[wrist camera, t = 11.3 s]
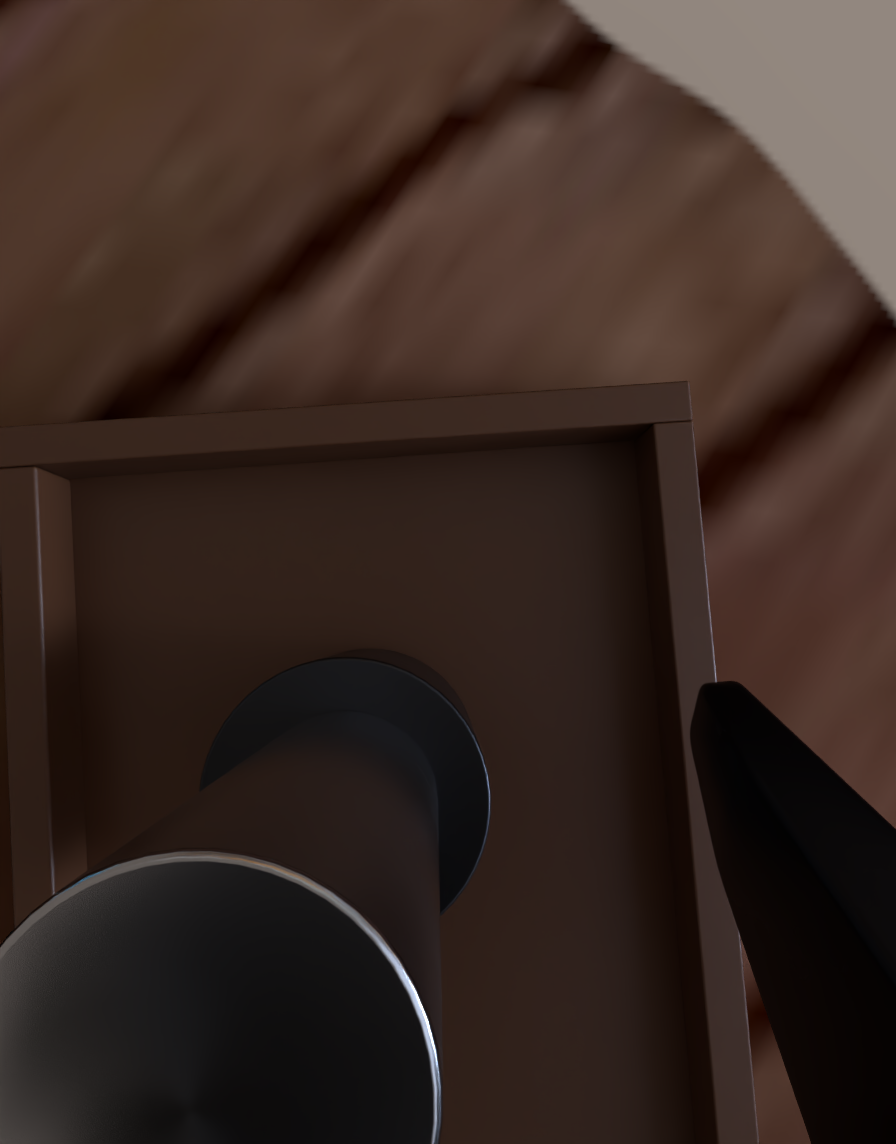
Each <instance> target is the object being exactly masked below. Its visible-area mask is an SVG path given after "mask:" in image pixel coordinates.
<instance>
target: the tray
mask: <svg viewBox="0 0 896 1144" xmlns="http://www.w3.org/2000/svg"><path fill="white" fill-rule="evenodd" d="M691 420H692V407H691V396H690V385H689V382H688V381H680V382H665V383H650V384H635V385H620V386H605V387H591V388H576V389H561V390H546V391H531V392H516V393H501V394H486V395H471V396H456V397H441V398H426V399H412V400H397V401H382V402H367V403H352V404H337V405H322V406H307V407H292V408H277V409H262V410H247V411H233V412H218V413H203V414H188V415H173V416H158V417H143V418H128V419H113V420H98V421H83V422H68V423H54V424H39V425H24V426H9V427H0V574H1V599H2V625H3V651H4V677H5V702H6V728H7V754H8V780H9V805H10V831H11V857H12V883H13V908H14V929H15V928H16V927H17V926H18V925H19V924H20V923H21V922H22V921H23V920H24V919H25V918H26V917H27V916H28V915H29V914H30V913H31V912H32V911H33V910H34V909H36V908H37V907H38V906H40V905H41V904H42V903H43V902H45V901H46V900H47V899H49V898H50V897H51V896H52V895H54V894H55V893H56V892H58V891H59V890H60V889H62V888H63V887H65V886H66V885H67V884H69V883H70V882H72V881H73V880H75V879H76V878H77V877H79V876H80V875H82V874H83V873H85V872H86V871H87V870H89V869H90V868H92V867H93V866H95V865H96V864H97V863H99V862H100V861H102V860H103V859H105V858H106V857H107V856H109V855H110V854H112V853H113V852H115V851H116V850H117V849H119V848H120V847H122V846H123V845H124V844H126V843H127V842H129V841H130V840H132V839H133V838H134V837H136V836H137V835H139V834H140V833H142V832H143V831H144V830H146V829H147V828H149V827H150V826H152V825H153V824H154V823H156V822H157V821H159V820H160V819H162V818H163V817H164V816H166V815H167V814H169V813H170V812H171V811H173V810H174V809H176V808H177V807H179V806H180V805H181V804H183V803H184V802H186V801H187V800H189V799H190V798H191V797H193V796H194V795H196V794H197V793H199V788H200V781H201V775H202V771H203V768H204V764H205V761H206V757H207V755H208V752H209V750H210V748H211V745H212V743H213V740H214V738H215V737H216V735H217V733H218V732H219V730H220V728H221V726H222V725H223V723H224V722H225V720H226V719H227V718H228V716H229V715H230V714H231V712H232V711H233V710H234V709H235V707H236V706H237V705H238V704H239V703H240V702H241V701H242V700H243V699H244V698H245V697H246V696H247V695H248V694H249V693H250V692H252V691H253V690H254V689H256V688H257V687H258V686H260V685H261V684H262V683H263V682H265V681H266V680H268V679H270V678H272V677H273V676H275V675H277V674H278V673H280V672H282V671H285V670H287V669H289V668H292V667H294V666H297V665H299V664H303V663H306V662H310V661H313V660H317V659H321V658H324V657H328V656H331V655H335V654H339V653H342V652H346V651H349V650H357V649H384V650H391V651H395V652H399V653H403V654H406V655H408V656H410V657H413V658H415V659H417V660H419V661H421V662H423V663H424V664H426V665H428V666H429V667H431V668H432V669H433V670H435V671H436V672H437V673H439V674H440V675H441V676H442V677H443V678H444V679H445V680H446V681H447V682H448V683H449V684H450V686H451V687H452V688H453V690H454V691H455V692H456V693H457V695H458V696H459V698H460V700H461V702H462V703H463V705H464V707H465V709H466V712H467V714H468V716H469V719H470V721H471V724H472V727H473V729H474V732H475V735H476V737H477V740H478V743H479V745H480V748H481V751H482V753H483V756H484V760H485V764H486V767H487V771H488V776H489V783H490V790H491V816H490V824H489V832H488V836H487V840H486V844H485V848H484V851H483V854H482V856H481V859H480V861H479V864H478V866H477V869H476V870H475V872H474V874H473V876H472V878H471V879H470V881H469V883H468V885H467V886H466V888H465V889H464V890H463V892H462V893H461V894H460V896H459V897H458V899H457V900H456V901H455V902H454V903H453V904H452V905H451V906H450V907H449V908H448V909H447V911H446V912H445V913H444V914H443V915H442V916H440V940H441V995H442V1051H443V1122H442V1130H441V1138H440V1144H759V1135H758V1125H757V1114H756V1103H755V1092H754V1081H753V1070H752V1059H751V1048H750V1038H749V1027H748V1016H747V1005H746V994H745V983H744V972H743V961H742V950H741V940H740V933H739V930H738V927H737V924H736V921H735V919H734V916H733V913H732V910H731V907H730V904H729V901H728V898H727V895H726V892H725V889H724V886H723V883H722V880H721V877H720V873H719V870H718V867H717V863H716V858H715V854H714V850H713V846H712V841H711V836H710V832H709V827H708V823H707V818H706V814H705V809H704V804H703V800H702V795H701V791H700V786H699V781H698V777H697V772H696V768H695V763H694V759H693V754H692V749H691V744H690V726H691V721H692V717H693V713H694V709H695V705H696V700H697V696H698V692H699V689H700V687H701V686H702V685H703V684H705V683H711V682H717V679H716V668H715V657H714V646H713V635H712V624H711V613H710V602H709V592H708V581H707V570H706V559H705V548H704V537H703V526H702V515H701V505H700V494H699V483H698V472H697V461H696V450H695V439H694V428H693V422H692V421H691Z"/></svg>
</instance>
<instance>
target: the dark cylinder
mask: <svg viewBox="0 0 896 1144" xmlns="http://www.w3.org/2000/svg"><path fill="white" fill-rule="evenodd" d="M490 816H491V790H490V783H489V776H488V771H487V767H486V764H485V760H484V756H483V753H482V751H481V748H480V745H479V743H478V740H477V737H476V735H475V732H474V729H473V727H472V724H471V721H470V719H469V716H468V714H467V712H466V709H465V707H464V705H463V703H462V702H461V700H460V698H459V696H458V695H457V693H456V692H455V691H454V690H453V688H452V687H451V686H450V684H449V683H448V682H447V681H446V680H445V679H444V678H443V677H442V676H441V675H440V674H439V673H437V672H436V671H435V670H433V669H432V668H431V667H429V666H428V665H426V664H424V663H423V662H421V661H419V660H417V659H415V658H413V657H410V656H408V655H406V654H403V653H399V652H395V651H391V650H384V649H357V650H349V651H346V652H342V653H339V654H335V655H331V656H328V657H324V658H321V659H317V660H313V661H310V662H306V663H303V664H299V665H297V666H294V667H292V668H289V669H287V670H285V671H282V672H280V673H278V674H277V675H275V676H273V677H272V678H270V679H268V680H266V681H265V682H263V683H262V684H261V685H260V686H258V687H257V688H256V689H254V690H253V691H252V692H250V693H249V694H248V695H247V696H246V697H245V698H244V699H243V700H242V701H241V702H240V703H239V704H238V705H237V706H236V707H235V709H234V710H233V711H232V712H231V714H230V715H229V716H228V718H227V719H226V720H225V722H224V723H223V725H222V726H221V728H220V730H219V732H218V733H217V735H216V737H215V738H214V740H213V743H212V745H211V748H210V750H209V752H208V755H207V757H206V761H205V764H204V768H203V771H202V775H201V781H200V788H199V793H197V794H196V795H194V796H193V797H191V798H190V799H189V800H187V801H186V802H184V803H183V804H181V805H180V806H179V807H177V808H176V809H174V810H173V811H171V812H170V813H169V814H167V815H166V816H164V817H163V818H162V819H160V820H159V821H157V822H156V823H154V824H153V825H152V826H150V827H149V828H147V829H146V830H144V831H143V832H142V833H140V834H139V835H137V836H136V837H134V838H133V839H132V840H130V841H129V842H127V843H126V844H124V845H123V846H122V847H120V848H119V849H117V850H116V851H115V852H113V853H112V854H110V855H109V856H107V857H106V858H105V859H103V860H102V861H100V862H99V863H97V864H96V865H95V866H93V867H92V868H90V869H89V870H87V871H86V872H85V873H83V874H82V875H80V876H79V877H77V878H76V879H75V880H73V881H72V882H70V883H69V884H67V885H66V886H65V887H63V888H62V889H60V890H59V891H58V892H56V893H55V894H54V895H52V896H51V897H50V898H49V899H47V900H46V901H45V902H43V903H42V904H41V905H40V906H38V907H37V908H36V909H34V910H33V911H32V912H31V913H30V914H29V915H28V916H27V917H26V918H25V919H24V920H23V921H22V922H21V923H20V924H19V925H18V926H17V927H16V928H15V929H14V930H13V931H12V932H11V933H10V934H9V935H8V936H7V937H6V939H5V940H4V941H3V942H2V944H1V945H0V1144H440V1138H441V1130H442V1122H443V1051H442V995H441V940H440V916H442V915H443V914H444V913H445V912H446V911H447V909H448V908H449V907H450V906H451V905H452V904H453V903H454V902H455V901H456V900H457V899H458V897H459V896H460V894H461V893H462V892H463V890H464V889H465V888H466V886H467V885H468V883H469V881H470V879H471V878H472V876H473V874H474V872H475V870H476V869H477V866H478V864H479V861H480V859H481V856H482V854H483V851H484V848H485V844H486V840H487V836H488V832H489V824H490Z"/></svg>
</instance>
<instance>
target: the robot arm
mask: <svg viewBox="0 0 896 1144" xmlns="http://www.w3.org/2000/svg"><path fill="white" fill-rule="evenodd" d="M690 744H691V749H692V754H693V759H694V763H695V768H696V772H697V777H698V781H699V786H700V791H701V795H702V800H703V804H704V809H705V814H706V818H707V823H708V827H709V832H710V836H711V841H712V846H713V850H714V854H715V858H716V863H717V867H718V870H719V873H720V877H721V880H722V883H723V886H724V889H725V892H726V895H727V898H728V901H729V904H730V907H731V910H732V913H733V916H734V919H735V921H736V924H737V927H738V930H739V933H740V936H741V939H742V942H743V945H744V948H745V951H746V954H747V957H748V959H749V962H750V965H751V968H752V971H753V974H754V977H755V980H756V983H757V986H758V989H759V992H760V995H761V997H762V1000H763V1003H764V1006H765V1009H766V1012H767V1015H768V1018H769V1021H770V1024H771V1027H772V1030H773V1033H774V1035H775V1038H776V1041H777V1044H778V1047H779V1050H780V1053H781V1056H782V1059H783V1062H784V1065H785V1068H786V1071H787V1073H788V1076H789V1079H790V1082H791V1085H792V1088H793V1091H794V1094H795V1097H796V1100H797V1103H798V1106H799V1108H800V1111H801V1114H802V1117H803V1120H804V1123H805V1126H806V1129H807V1132H808V1135H809V1138H810V1141H811V1144H896V829H895V828H894V827H893V826H892V825H891V824H890V823H889V822H888V821H886V820H885V819H884V818H883V817H882V816H881V815H880V814H879V813H878V812H877V811H876V810H875V809H874V808H873V807H872V806H871V805H869V804H868V803H867V802H866V801H865V800H864V799H863V798H862V797H861V796H860V795H859V794H858V793H857V792H856V791H855V790H854V789H852V788H851V787H850V786H849V785H848V784H847V783H846V782H845V781H844V780H843V779H842V778H841V777H840V776H839V775H838V774H837V773H835V772H834V771H833V770H832V769H831V768H830V767H829V766H828V765H827V764H826V763H825V762H824V761H823V760H822V759H821V758H819V757H818V756H817V755H816V754H815V753H814V752H813V751H812V750H811V749H810V748H809V747H808V746H807V745H806V744H805V743H804V742H802V741H801V740H800V739H799V738H798V737H797V736H796V735H795V734H794V733H793V732H792V731H791V730H790V729H789V728H788V727H787V726H785V725H784V724H783V723H782V722H781V721H780V720H779V719H778V718H777V717H776V716H775V715H774V714H773V713H772V712H771V711H769V710H768V709H767V708H766V707H765V706H764V705H763V704H762V703H761V702H760V701H759V700H758V699H757V698H756V697H755V696H754V695H752V694H751V693H750V692H749V691H748V690H747V689H746V688H745V687H744V686H743V685H741V684H740V683H738V682H735V681H724V682H711V683H705V684H703V685H702V686H701V687H700V689H699V692H698V696H697V700H696V705H695V709H694V713H693V717H692V721H691V726H690Z"/></svg>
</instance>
